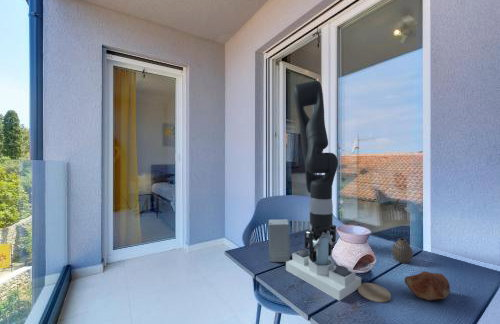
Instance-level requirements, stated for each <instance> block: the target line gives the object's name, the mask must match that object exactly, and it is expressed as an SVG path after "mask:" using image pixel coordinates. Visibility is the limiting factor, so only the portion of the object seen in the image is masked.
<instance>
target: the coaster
mask: <svg viewBox="0 0 500 324" xmlns="http://www.w3.org/2000/svg"><path fill="white" fill-rule="evenodd" d="M357 291H358V293H359V295H360V296H362V297H363V298H365V299H367V300H369V301H372V302H375V303H388V302H389V301H391V300H392V294H391V292H390V291H389V290H388V289H387V288H385V287H383V286H381V285H380V284H379V285H378V284H376V283H371V282H364V283H363V282H361V286H359V287H358V289H357Z"/></svg>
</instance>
